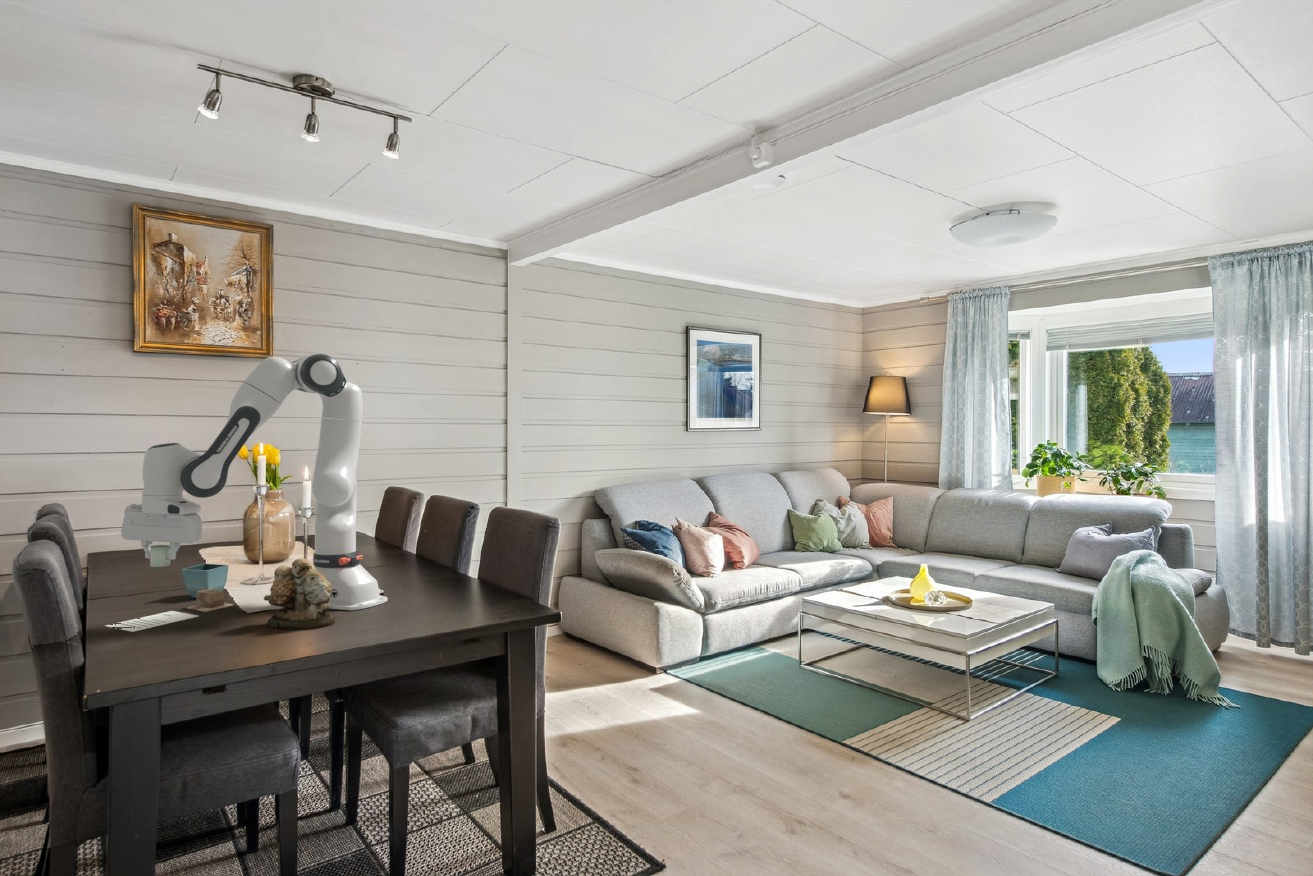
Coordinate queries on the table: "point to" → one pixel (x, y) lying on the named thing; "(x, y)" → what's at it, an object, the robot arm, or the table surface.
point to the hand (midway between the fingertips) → (160, 558)
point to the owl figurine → (300, 597)
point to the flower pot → (205, 577)
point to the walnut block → (210, 598)
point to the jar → (159, 555)
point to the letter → (153, 620)
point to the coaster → (208, 608)
